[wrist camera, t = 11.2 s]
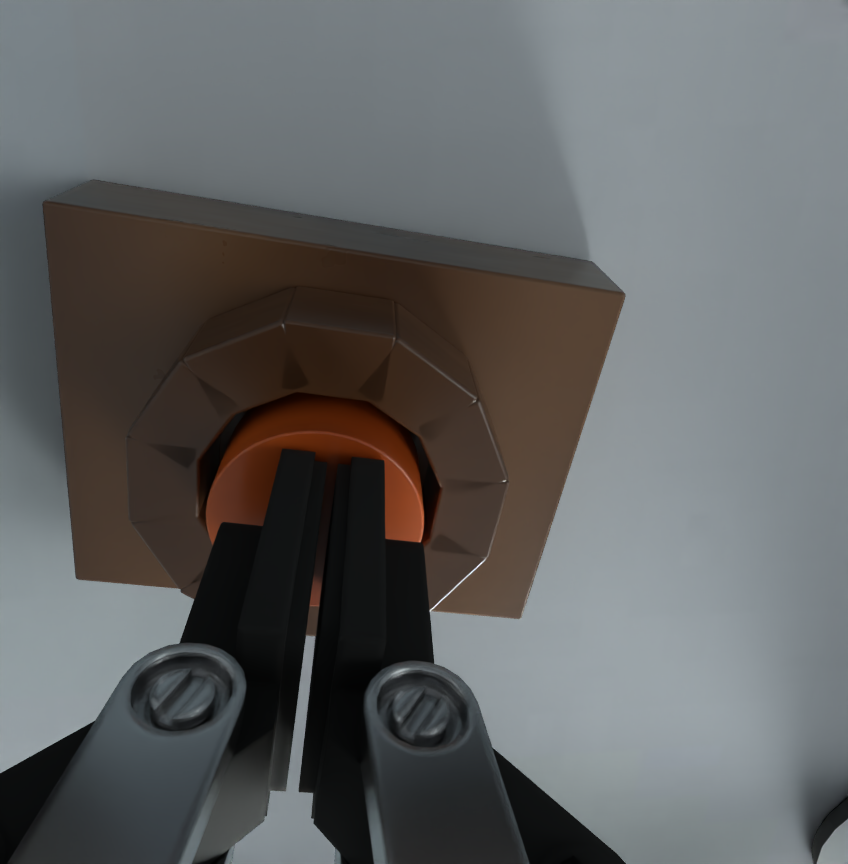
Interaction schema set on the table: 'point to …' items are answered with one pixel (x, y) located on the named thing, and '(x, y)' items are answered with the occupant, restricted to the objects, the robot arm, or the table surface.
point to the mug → (832, 838)
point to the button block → (313, 374)
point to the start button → (333, 443)
